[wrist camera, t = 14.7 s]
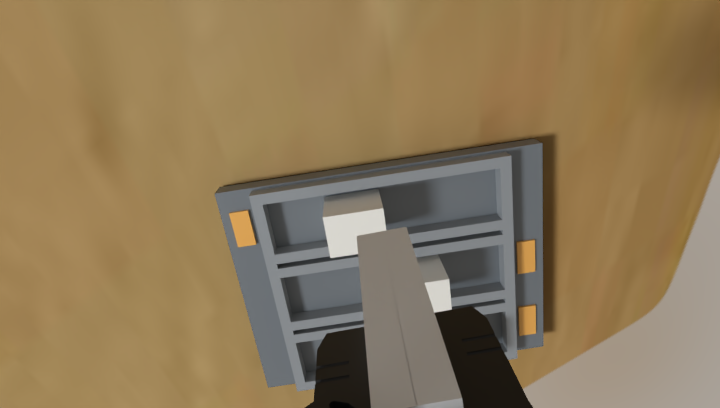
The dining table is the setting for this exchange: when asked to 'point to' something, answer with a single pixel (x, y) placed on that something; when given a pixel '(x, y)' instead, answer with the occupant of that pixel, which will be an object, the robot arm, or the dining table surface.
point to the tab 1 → (351, 220)
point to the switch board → (401, 209)
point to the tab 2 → (436, 282)
